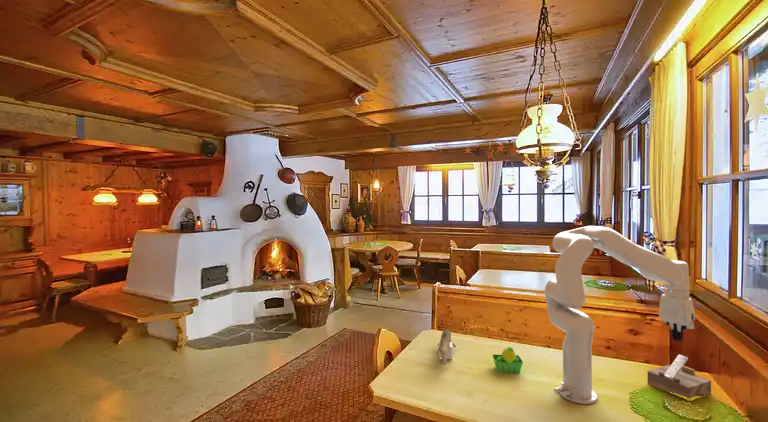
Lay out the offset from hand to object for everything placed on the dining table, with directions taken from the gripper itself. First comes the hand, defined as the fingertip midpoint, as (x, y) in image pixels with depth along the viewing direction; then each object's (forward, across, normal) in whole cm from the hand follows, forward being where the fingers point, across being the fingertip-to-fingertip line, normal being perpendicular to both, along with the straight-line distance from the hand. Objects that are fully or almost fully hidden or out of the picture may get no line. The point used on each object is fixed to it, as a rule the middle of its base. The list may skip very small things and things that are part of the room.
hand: (677, 340), depth 138 cm
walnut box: (+18, +2, -3) cm, 18 cm away
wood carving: (+16, -59, -68) cm, 91 cm away
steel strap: (+9, +2, -4) cm, 10 cm away
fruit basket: (+17, -37, -50) cm, 65 cm away
